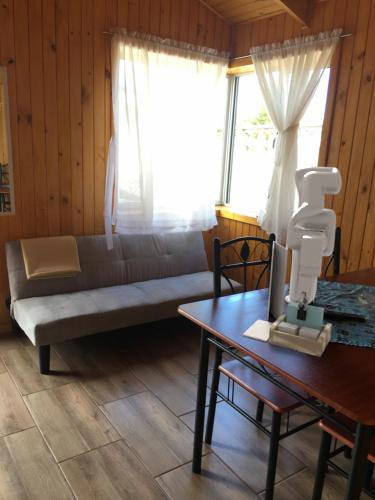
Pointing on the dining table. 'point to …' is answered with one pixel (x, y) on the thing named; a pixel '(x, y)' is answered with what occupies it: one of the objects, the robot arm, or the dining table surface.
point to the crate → (299, 338)
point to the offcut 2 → (309, 333)
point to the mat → (259, 330)
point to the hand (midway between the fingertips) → (304, 315)
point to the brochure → (277, 280)
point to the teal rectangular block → (312, 318)
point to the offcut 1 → (288, 328)
